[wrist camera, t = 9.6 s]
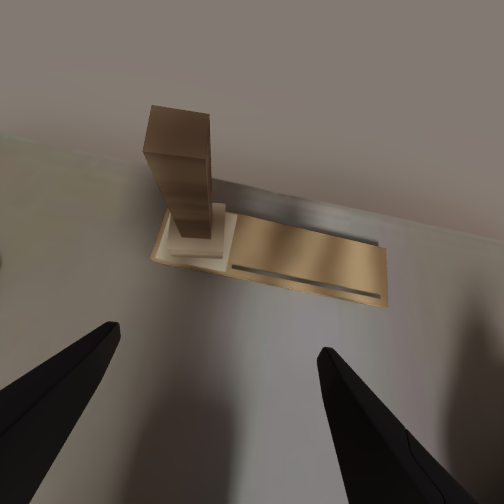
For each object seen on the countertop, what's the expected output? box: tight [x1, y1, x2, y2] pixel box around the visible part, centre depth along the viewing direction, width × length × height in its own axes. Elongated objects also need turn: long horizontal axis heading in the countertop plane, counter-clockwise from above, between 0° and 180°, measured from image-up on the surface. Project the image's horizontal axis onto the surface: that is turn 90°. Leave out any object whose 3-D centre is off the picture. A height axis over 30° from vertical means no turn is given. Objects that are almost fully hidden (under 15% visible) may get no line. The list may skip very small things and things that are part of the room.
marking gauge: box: [143, 105, 226, 259], centre depth 16 cm, size 6×5×13 cm
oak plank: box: [150, 206, 388, 307], centre depth 23 cm, size 26×7×1 cm, turn 80°
